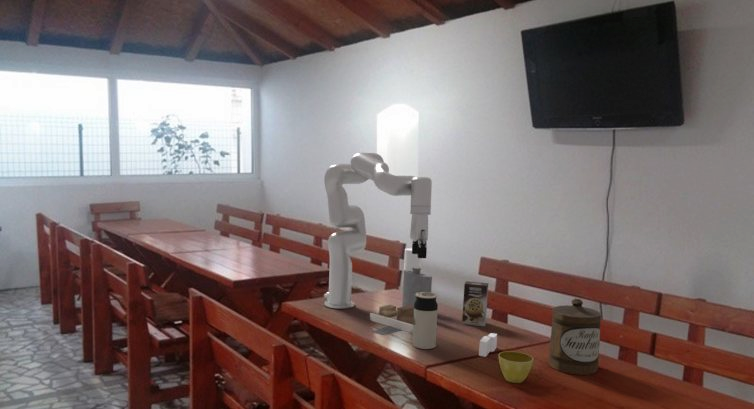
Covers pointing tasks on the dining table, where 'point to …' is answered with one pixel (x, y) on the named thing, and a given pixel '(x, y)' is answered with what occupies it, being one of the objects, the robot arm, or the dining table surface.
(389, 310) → the offcut top
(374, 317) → the rack
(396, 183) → the robot arm
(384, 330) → the mat
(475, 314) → the coffee box
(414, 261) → the cylindrical container
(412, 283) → the hip flask
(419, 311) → the travel mug
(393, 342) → the dining table surface
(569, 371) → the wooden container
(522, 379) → the flower pot
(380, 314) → the offcut low
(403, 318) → the brown wooden block
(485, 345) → the napkin holder
